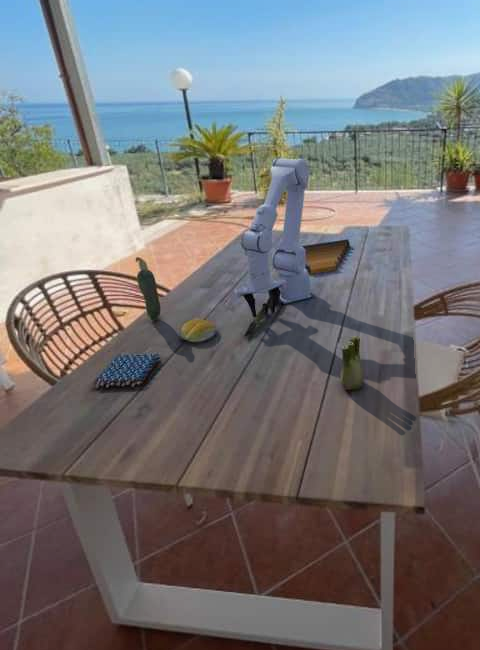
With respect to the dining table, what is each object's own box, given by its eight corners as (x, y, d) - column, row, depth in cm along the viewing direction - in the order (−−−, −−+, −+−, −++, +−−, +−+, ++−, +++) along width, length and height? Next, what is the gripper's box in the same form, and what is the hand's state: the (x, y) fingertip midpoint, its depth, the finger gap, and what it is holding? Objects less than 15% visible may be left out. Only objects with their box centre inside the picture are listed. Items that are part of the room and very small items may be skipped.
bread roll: (201, 323, 112) (199, 311, 110) (221, 332, 107) (219, 320, 106) (174, 336, 105) (172, 323, 104) (195, 347, 101) (192, 333, 99)
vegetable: (166, 318, 114) (153, 255, 107) (155, 326, 110) (141, 261, 103) (155, 316, 115) (141, 253, 108) (143, 323, 112) (128, 259, 104)
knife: (248, 347, 105) (246, 332, 102) (243, 346, 105) (240, 331, 103) (280, 299, 125) (279, 286, 123) (276, 299, 125) (274, 285, 123)
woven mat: (117, 360, 96) (115, 353, 95) (161, 358, 96) (160, 351, 95) (93, 388, 86) (90, 381, 85) (142, 386, 86) (140, 379, 86)
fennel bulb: (344, 396, 84) (344, 349, 79) (335, 383, 88) (333, 337, 83) (368, 387, 86) (368, 341, 82) (357, 375, 90) (357, 330, 86)
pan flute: (346, 245, 175) (292, 253, 165) (346, 238, 173) (291, 246, 163) (371, 264, 153) (310, 275, 144) (371, 256, 152) (310, 266, 142)
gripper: (236, 282, 103) (242, 326, 108) (288, 271, 109) (291, 313, 114) (230, 272, 108) (236, 315, 113) (280, 262, 115) (283, 303, 120)
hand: (263, 313), depth 114 cm, fingers open, 5 cm apart
